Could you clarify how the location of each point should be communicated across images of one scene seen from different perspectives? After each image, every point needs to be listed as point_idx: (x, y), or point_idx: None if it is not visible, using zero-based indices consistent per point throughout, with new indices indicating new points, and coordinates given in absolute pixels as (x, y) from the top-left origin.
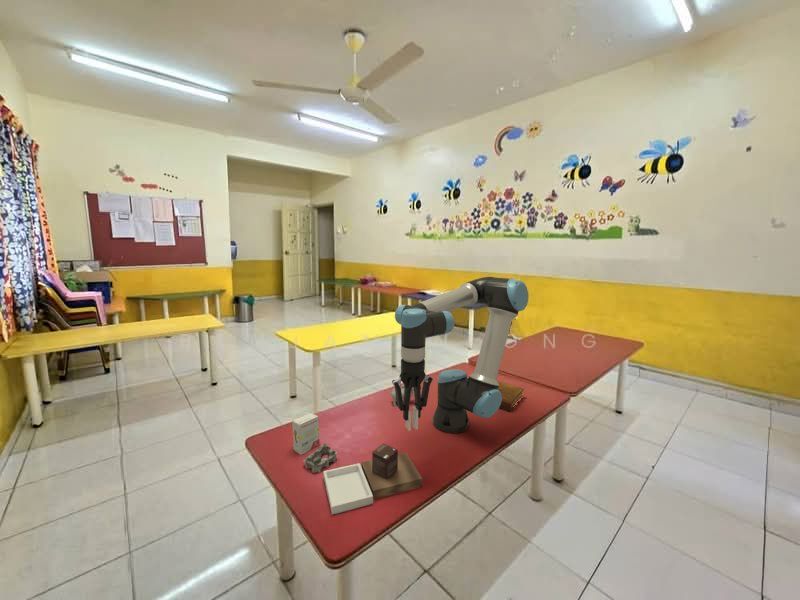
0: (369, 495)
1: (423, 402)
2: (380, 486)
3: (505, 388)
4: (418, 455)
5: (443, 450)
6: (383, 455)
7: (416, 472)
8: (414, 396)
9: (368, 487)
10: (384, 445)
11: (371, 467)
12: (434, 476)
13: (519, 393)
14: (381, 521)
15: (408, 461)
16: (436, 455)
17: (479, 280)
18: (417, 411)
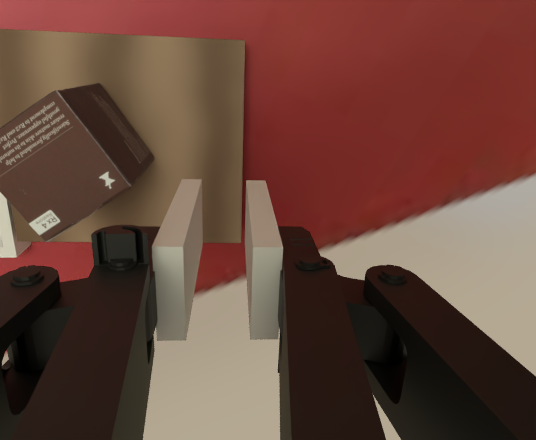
0: (2, 250)
1: (372, 388)
2: None
3: None
4: (319, 29)
5: (454, 41)
6: (31, 209)
7: (232, 202)
8: (287, 340)
9: (3, 206)
10: (57, 115)
11: (30, 92)
12: (313, 193)
13: None
14: None
15: (228, 117)
16: (399, 66)
17: None
18: (266, 333)
